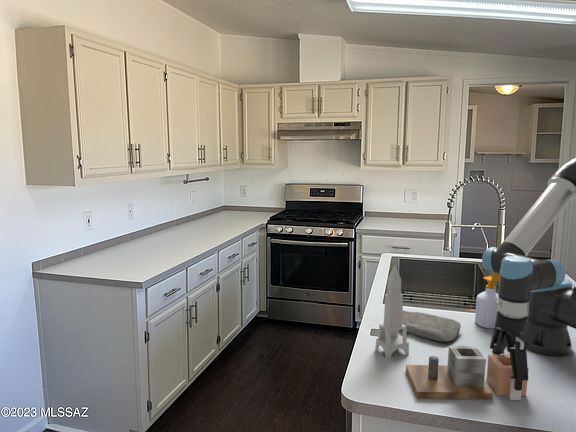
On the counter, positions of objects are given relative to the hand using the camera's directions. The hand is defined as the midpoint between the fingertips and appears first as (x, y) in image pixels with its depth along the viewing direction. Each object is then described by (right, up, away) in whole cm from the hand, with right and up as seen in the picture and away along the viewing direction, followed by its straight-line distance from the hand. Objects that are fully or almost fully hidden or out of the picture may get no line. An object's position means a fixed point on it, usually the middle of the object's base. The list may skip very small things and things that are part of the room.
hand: (505, 387), depth 123 cm
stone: (-12, +6, +37) cm, 40 cm away
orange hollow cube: (0, 0, 0) cm, 0 cm away
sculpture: (-27, +3, +21) cm, 34 cm away
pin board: (-16, 0, +2) cm, 16 cm away
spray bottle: (+14, +7, +42) cm, 45 cm away
